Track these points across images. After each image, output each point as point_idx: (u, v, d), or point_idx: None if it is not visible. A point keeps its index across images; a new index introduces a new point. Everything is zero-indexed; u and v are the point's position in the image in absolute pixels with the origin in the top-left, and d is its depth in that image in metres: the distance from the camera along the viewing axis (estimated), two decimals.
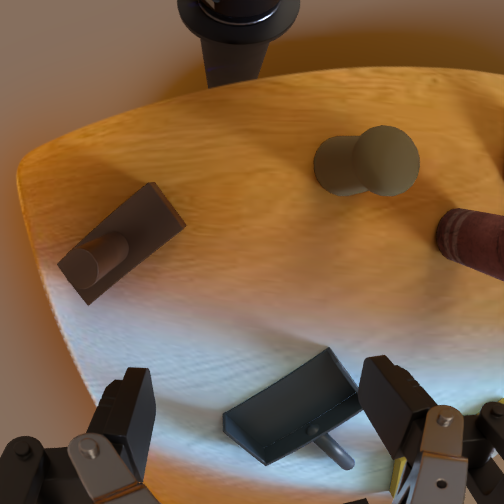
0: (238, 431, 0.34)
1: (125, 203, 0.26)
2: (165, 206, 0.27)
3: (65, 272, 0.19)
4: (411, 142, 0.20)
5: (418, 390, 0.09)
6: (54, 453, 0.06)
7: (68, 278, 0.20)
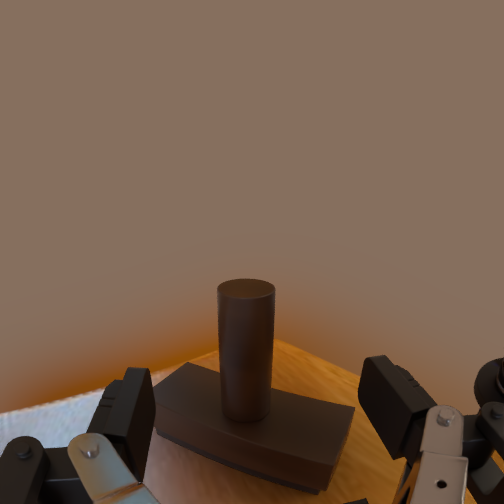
0: None
1: (311, 399, 0.18)
2: (344, 434, 0.15)
3: (231, 280, 0.17)
4: None
5: (418, 390, 0.09)
6: (54, 453, 0.06)
7: (224, 283, 0.16)
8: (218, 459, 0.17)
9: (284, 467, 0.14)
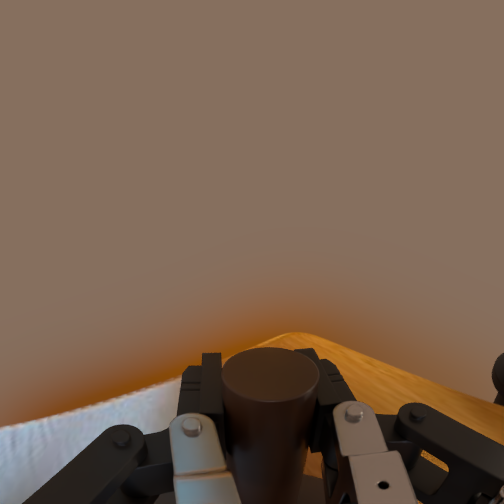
0: None
1: None
2: None
3: (243, 353, 0.10)
4: None
5: (340, 384, 0.10)
6: (149, 438, 0.07)
7: (233, 359, 0.09)
8: None
9: None
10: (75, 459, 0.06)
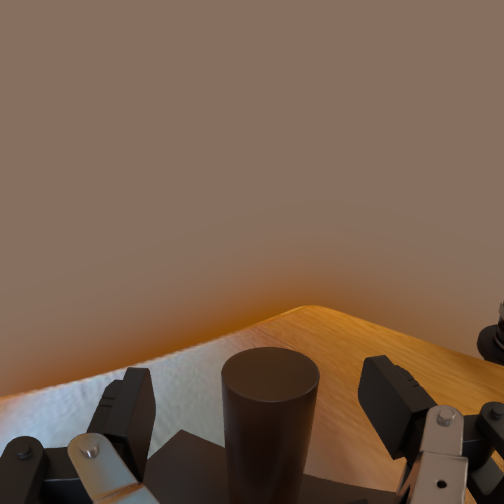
0: None
1: (350, 487, 0.11)
2: None
3: (243, 353, 0.10)
4: None
5: (418, 390, 0.09)
6: (54, 453, 0.06)
7: (233, 359, 0.09)
8: None
9: None
10: None
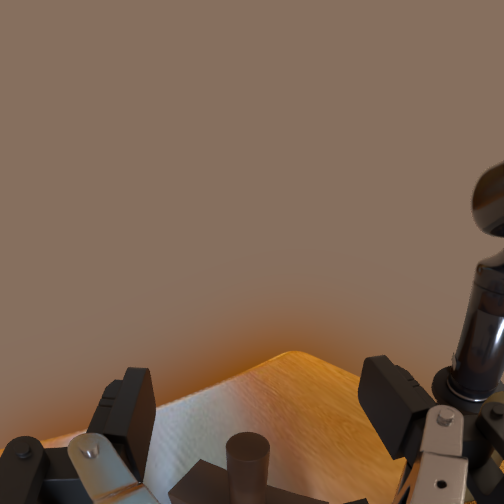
0: None
1: (296, 495, 0.20)
2: None
3: (235, 435, 0.19)
4: None
5: (418, 390, 0.09)
6: (54, 453, 0.06)
7: (231, 439, 0.19)
8: None
9: None
10: None
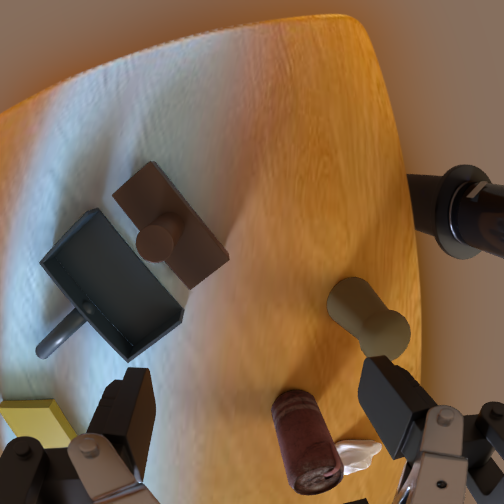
0: (80, 227, 0.31)
1: (210, 238, 0.31)
2: (208, 275, 0.31)
3: (149, 227, 0.22)
4: (401, 353, 0.28)
5: (418, 390, 0.09)
6: (54, 453, 0.06)
7: (144, 230, 0.22)
8: None
9: None
10: None
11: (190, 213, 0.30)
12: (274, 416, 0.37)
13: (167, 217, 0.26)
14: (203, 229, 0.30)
